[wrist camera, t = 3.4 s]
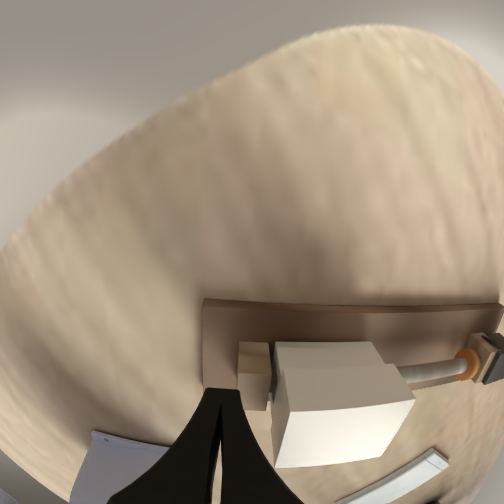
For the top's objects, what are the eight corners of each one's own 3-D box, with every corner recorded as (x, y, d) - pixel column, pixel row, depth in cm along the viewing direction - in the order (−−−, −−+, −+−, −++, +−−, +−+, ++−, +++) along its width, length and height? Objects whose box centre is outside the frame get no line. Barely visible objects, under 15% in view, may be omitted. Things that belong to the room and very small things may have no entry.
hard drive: (367, 514, 23) (451, 466, 21) (336, 508, 21) (435, 454, 19) (365, 505, 25) (446, 457, 22) (333, 498, 23) (430, 443, 20)
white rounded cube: (267, 392, 14) (274, 468, 10) (276, 332, 13) (290, 411, 8) (353, 390, 15) (380, 456, 10) (373, 333, 13) (416, 398, 9)
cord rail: (204, 388, 16) (197, 434, 12) (204, 298, 14) (192, 340, 10) (469, 370, 16) (492, 397, 13) (499, 302, 15) (529, 325, 11)
